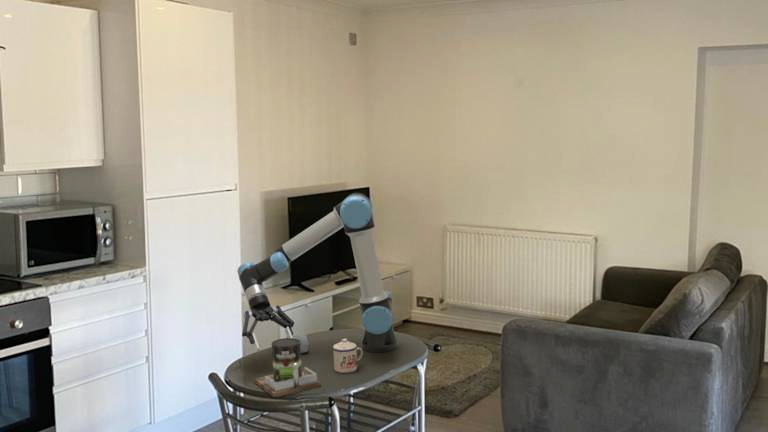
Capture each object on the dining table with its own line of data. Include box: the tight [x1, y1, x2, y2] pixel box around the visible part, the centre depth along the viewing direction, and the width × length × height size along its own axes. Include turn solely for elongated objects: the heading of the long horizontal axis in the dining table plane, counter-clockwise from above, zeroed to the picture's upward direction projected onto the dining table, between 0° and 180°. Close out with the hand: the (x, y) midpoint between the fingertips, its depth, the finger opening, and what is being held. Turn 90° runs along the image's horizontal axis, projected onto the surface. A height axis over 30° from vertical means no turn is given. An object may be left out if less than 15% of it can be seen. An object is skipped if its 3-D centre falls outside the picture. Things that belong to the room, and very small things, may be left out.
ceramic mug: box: [292, 334, 311, 354], centre depth 311 cm, size 11×8×8 cm
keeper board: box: [254, 369, 322, 398], centre depth 275 cm, size 18×18×2 cm
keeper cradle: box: [264, 363, 318, 392], centre depth 271 cm, size 10×16×9 cm, turn 120°
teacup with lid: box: [332, 338, 364, 374], centre depth 289 cm, size 12×9×12 cm
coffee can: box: [271, 337, 303, 382], centre depth 274 cm, size 10×10×14 cm
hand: (275, 347), depth 282 cm, fingers open, 13 cm apart
